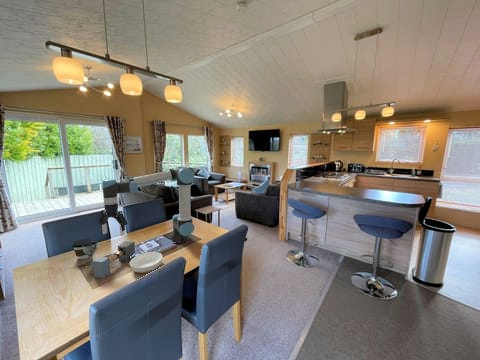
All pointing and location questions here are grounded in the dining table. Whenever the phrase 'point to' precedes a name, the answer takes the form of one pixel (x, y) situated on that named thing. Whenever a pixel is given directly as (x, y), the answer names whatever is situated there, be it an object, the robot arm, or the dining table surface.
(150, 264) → the bowl
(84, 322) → the dining table surface
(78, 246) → the coffee cup
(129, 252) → the sleeve
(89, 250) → the wine glass
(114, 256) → the tube
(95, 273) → the socket
